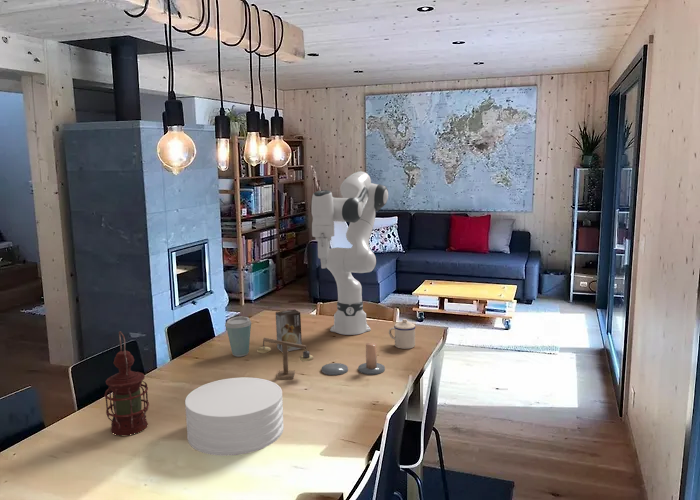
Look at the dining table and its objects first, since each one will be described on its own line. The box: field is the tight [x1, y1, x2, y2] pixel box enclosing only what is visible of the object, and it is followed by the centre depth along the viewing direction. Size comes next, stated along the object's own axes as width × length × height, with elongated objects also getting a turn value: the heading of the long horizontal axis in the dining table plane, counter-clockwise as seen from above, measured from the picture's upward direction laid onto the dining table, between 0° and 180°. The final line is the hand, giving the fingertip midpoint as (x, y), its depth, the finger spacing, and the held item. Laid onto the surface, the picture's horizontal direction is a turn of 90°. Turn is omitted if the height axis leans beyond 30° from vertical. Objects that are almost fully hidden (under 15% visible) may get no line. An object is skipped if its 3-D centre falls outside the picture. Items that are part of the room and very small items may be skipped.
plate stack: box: [184, 376, 285, 456], centre depth 169 cm, size 28×28×12 cm
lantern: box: [104, 330, 150, 436], centre depth 170 cm, size 12×12×30 cm
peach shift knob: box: [365, 342, 378, 369], centre depth 216 cm, size 4×4×9 cm
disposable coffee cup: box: [224, 315, 253, 358], centre depth 235 cm, size 11×11×15 cm
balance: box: [256, 337, 314, 380], centre depth 211 cm, size 6×21×15 cm, turn 90°
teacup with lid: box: [388, 318, 416, 350], centre depth 243 cm, size 12×9×12 cm
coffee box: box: [275, 309, 303, 353], centre depth 241 cm, size 9×6×16 cm
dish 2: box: [357, 362, 386, 376], centre depth 217 cm, size 10×10×1 cm
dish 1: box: [321, 362, 349, 376], centre depth 217 cm, size 10×10×1 cm
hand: (324, 265), depth 229 cm, fingers open, 8 cm apart
